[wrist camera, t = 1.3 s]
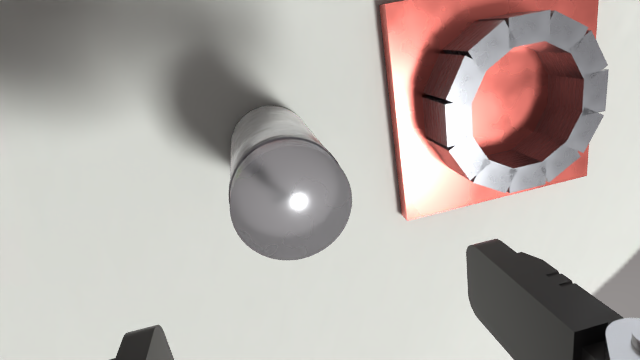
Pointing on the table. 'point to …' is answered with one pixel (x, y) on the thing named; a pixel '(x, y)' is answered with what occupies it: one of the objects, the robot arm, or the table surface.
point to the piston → (285, 186)
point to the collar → (490, 97)
